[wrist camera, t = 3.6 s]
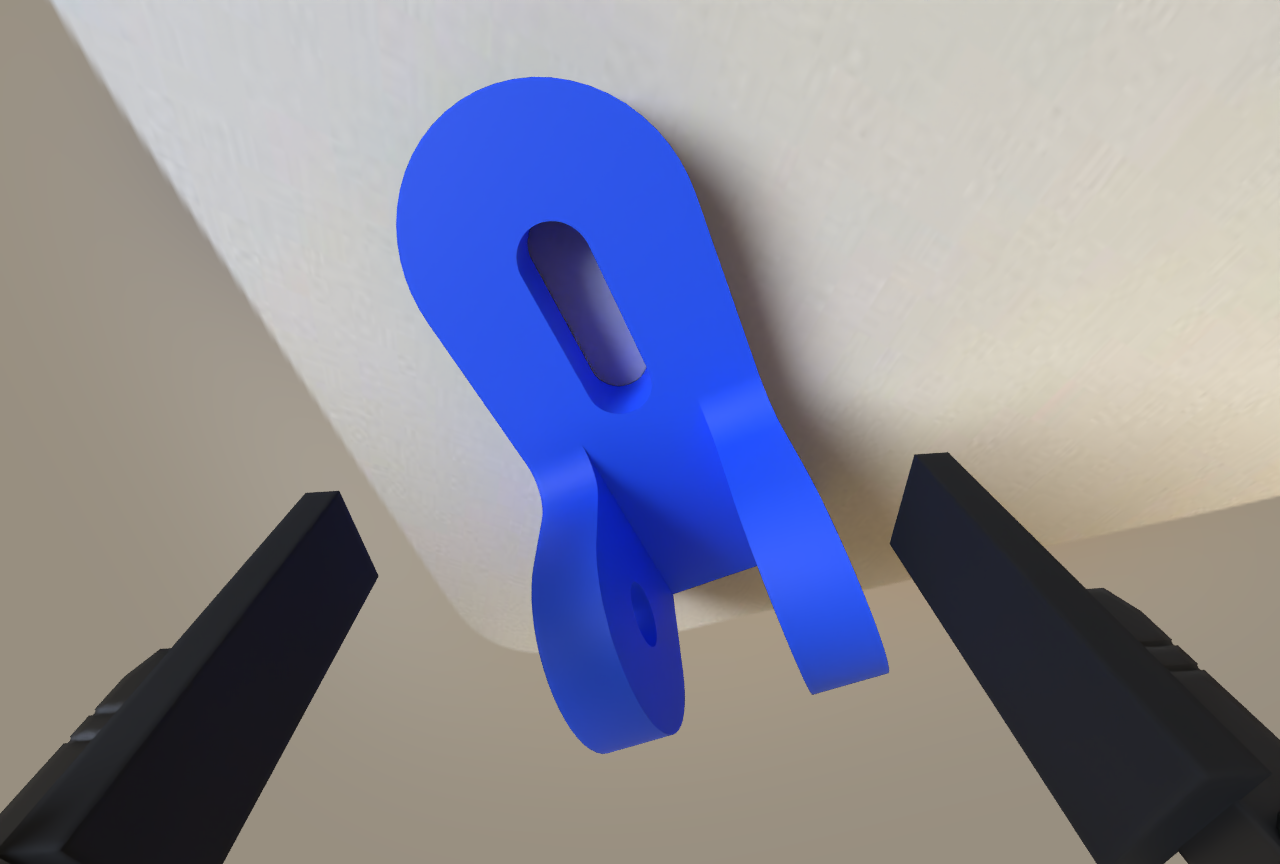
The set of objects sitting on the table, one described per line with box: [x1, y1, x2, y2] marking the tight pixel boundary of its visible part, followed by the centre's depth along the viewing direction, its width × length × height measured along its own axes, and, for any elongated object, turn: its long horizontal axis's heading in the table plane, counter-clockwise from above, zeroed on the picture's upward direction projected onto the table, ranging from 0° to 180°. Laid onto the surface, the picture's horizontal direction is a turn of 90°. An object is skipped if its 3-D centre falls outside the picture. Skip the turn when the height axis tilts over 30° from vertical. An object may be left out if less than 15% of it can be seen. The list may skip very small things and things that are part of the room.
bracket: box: [396, 77, 889, 754], centre depth 14 cm, size 18×8×9 cm, turn 24°
